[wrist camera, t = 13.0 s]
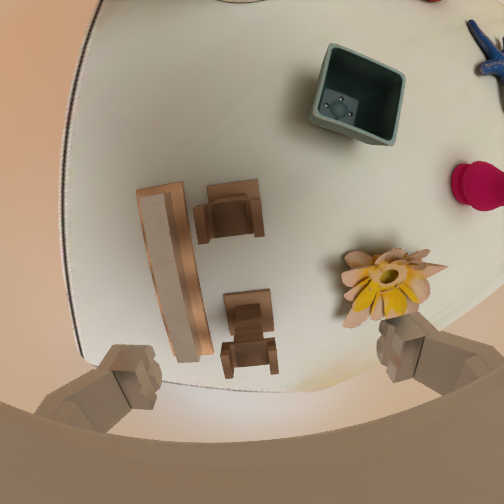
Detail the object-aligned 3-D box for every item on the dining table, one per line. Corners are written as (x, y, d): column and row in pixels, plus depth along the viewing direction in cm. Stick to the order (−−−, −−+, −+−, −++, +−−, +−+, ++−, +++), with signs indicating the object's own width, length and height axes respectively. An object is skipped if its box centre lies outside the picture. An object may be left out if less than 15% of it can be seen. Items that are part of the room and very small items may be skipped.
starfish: (480, 14, 23) (493, 8, 18) (526, 89, 26) (540, 87, 22) (445, 32, 26) (460, 23, 21) (500, 122, 29) (518, 121, 25)
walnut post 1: (207, 185, 33) (186, 190, 21) (257, 179, 33) (261, 179, 21) (214, 234, 34) (197, 262, 23) (263, 228, 34) (270, 253, 23)
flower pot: (295, 130, 31) (311, 115, 22) (311, 70, 29) (329, 40, 20) (361, 153, 32) (394, 147, 23) (373, 94, 30) (406, 74, 21)
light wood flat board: (138, 189, 33) (135, 190, 32) (182, 181, 33) (181, 181, 32) (175, 353, 39) (174, 356, 38) (213, 351, 39) (213, 354, 38)
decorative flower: (314, 322, 36) (346, 348, 26) (327, 238, 36) (365, 236, 26) (401, 325, 38) (443, 344, 28) (413, 253, 37) (459, 256, 27)
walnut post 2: (224, 293, 36) (214, 343, 25) (269, 288, 36) (278, 337, 25) (230, 332, 38) (225, 389, 27) (273, 327, 38) (282, 383, 26)
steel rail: (148, 196, 32) (139, 198, 29) (170, 191, 32) (163, 193, 29) (182, 350, 38) (177, 362, 35) (202, 349, 38) (199, 361, 35)
